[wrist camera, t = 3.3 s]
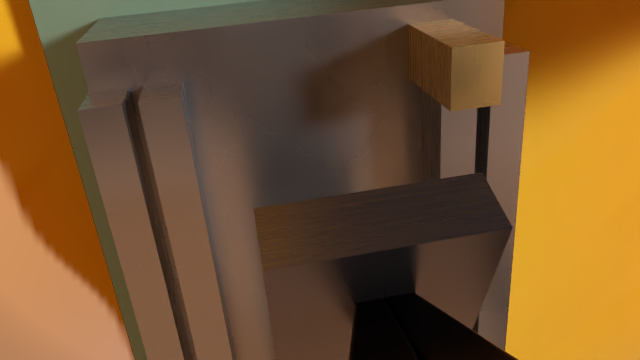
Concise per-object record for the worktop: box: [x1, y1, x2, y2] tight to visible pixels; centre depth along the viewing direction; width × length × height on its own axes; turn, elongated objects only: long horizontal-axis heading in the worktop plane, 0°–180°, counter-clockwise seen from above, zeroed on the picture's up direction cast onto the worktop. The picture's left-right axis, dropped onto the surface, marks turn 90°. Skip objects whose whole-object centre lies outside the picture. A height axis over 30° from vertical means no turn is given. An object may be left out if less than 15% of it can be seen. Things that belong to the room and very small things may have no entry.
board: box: [29, 0, 260, 360], centre depth 18 cm, size 19×12×1 cm, turn 5°
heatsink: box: [76, 0, 530, 360], centre depth 15 cm, size 16×9×5 cm, turn 5°
